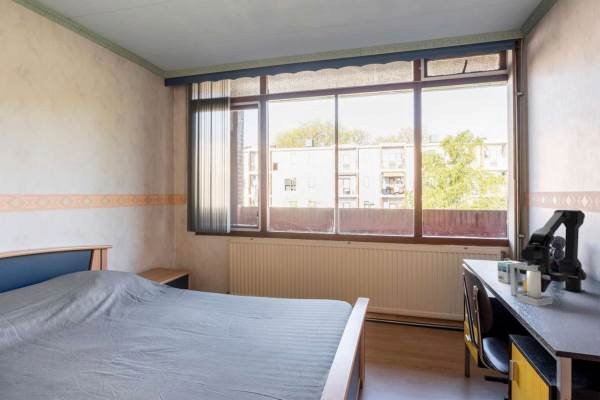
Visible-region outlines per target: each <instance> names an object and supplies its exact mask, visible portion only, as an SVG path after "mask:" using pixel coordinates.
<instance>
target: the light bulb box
mask: <svg viewBox="0 0 600 400" xmlns="http://www.w3.org/2000/svg"><path fill="white" fill-rule="evenodd" d="M510 263H516V264H520V265H523V262H521V261H517V260H505V261H504V260H503V261H497V281H498V282H502V283H505V284H511V277H510ZM517 274H518V283H523V280H524V279H523V275H524V274H521V273H520V268H517Z"/></svg>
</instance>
